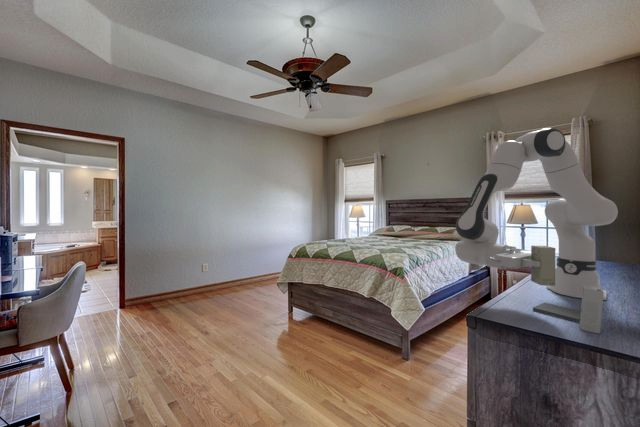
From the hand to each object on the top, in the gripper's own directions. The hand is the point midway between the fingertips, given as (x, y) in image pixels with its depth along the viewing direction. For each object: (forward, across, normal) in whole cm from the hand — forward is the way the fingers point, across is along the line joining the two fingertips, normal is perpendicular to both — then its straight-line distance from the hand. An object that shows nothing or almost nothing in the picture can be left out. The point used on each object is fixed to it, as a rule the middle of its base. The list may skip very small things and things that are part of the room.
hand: (546, 263), depth 95 cm
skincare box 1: (-1, 0, +7) cm, 7 cm away
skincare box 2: (+12, -3, +17) cm, 21 cm away
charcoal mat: (+3, +5, +17) cm, 18 cm away
